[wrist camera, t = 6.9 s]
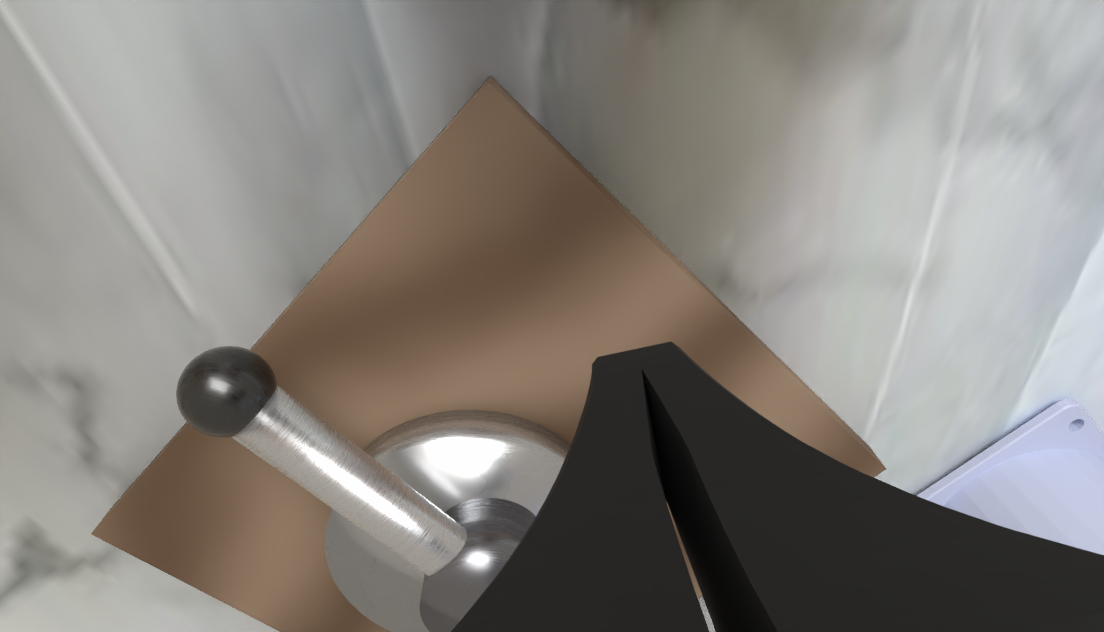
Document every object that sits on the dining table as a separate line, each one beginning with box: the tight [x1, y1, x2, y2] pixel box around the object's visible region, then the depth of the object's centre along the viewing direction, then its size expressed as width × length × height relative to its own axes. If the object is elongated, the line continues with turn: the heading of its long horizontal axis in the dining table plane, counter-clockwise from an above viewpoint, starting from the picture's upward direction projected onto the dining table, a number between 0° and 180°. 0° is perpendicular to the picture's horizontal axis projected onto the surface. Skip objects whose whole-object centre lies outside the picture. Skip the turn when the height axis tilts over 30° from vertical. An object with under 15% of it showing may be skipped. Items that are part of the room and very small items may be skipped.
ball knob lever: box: [176, 346, 571, 632], centre depth 20 cm, size 20×9×4 cm, turn 41°
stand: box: [92, 76, 886, 632], centre depth 22 cm, size 18×20×2 cm
